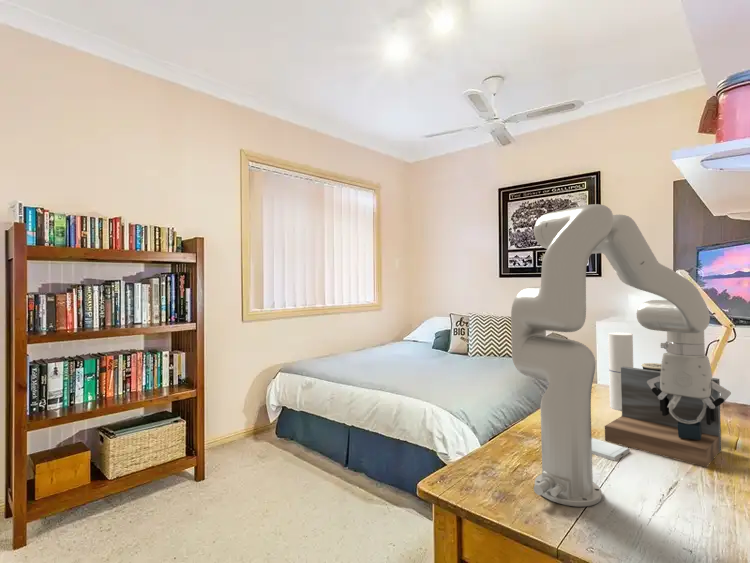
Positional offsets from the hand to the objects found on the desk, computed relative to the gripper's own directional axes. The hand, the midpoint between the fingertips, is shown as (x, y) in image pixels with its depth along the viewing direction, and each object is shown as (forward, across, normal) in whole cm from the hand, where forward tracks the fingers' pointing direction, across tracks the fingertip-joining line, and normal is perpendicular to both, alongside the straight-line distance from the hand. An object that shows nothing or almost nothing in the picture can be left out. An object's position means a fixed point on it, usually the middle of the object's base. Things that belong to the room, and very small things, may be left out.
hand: (687, 418), depth 104 cm
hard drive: (+9, -16, -13) cm, 23 cm away
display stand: (+9, -6, +1) cm, 10 cm away
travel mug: (+9, -11, +16) cm, 21 cm away
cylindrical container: (+9, -25, +28) cm, 38 cm away
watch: (+4, 0, 0) cm, 4 cm away
